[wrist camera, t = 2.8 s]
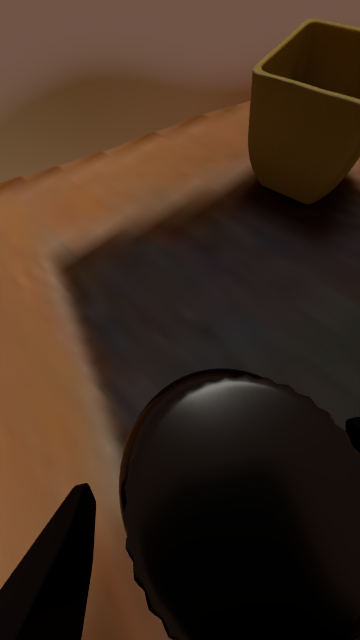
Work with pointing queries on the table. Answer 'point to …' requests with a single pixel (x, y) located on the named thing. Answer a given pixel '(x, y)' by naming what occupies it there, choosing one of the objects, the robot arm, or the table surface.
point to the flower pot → (307, 111)
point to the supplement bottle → (243, 512)
